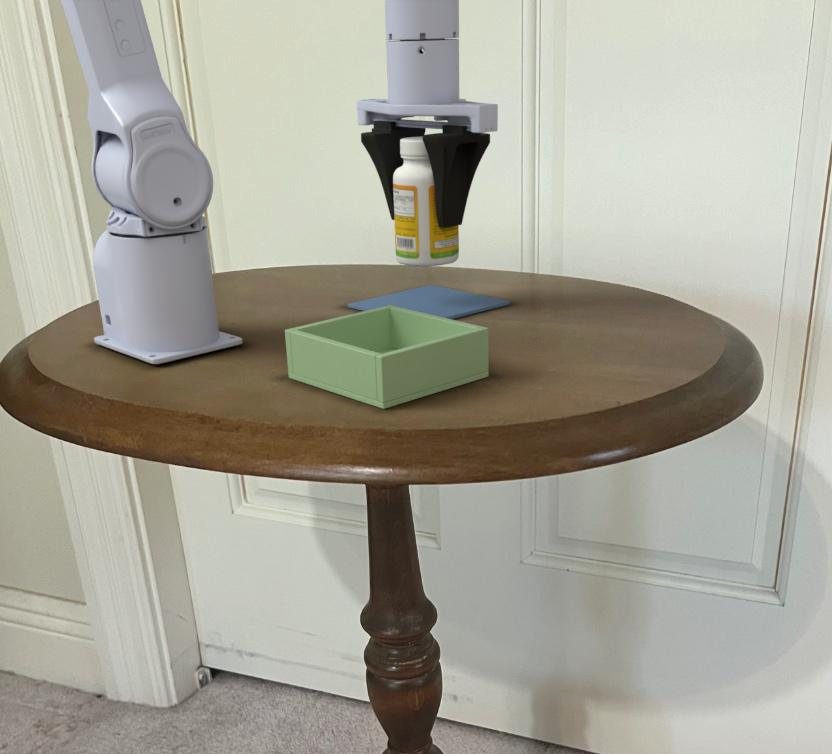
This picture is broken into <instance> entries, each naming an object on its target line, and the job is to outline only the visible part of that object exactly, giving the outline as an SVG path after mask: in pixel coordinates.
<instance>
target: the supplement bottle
mask: <svg viewBox="0 0 832 754" xmlns="http://www.w3.org/2000/svg"><path fill="white" fill-rule="evenodd" d="M400 154H401V158H403V159H404V163H403V166H401V167H399V168H397V169H396V170H395V172H394V175H393V193H394V219H395V220H394V240H395V241H394V243H395V259H396V261H397V262H398V263H399V264H401V265H404V266H408V267H419V268H420V267H435V266H436V267H437V266H444V265H451V264H453V263H456V261H457V260H458V259H459V257H460V240H459V239H460V235H459V234H460V233H459V231H460V230H459V226H460V225H457V226H452V227H447V228H443V227H439V224H438V220H437V214H436V200H435V185H434V179H433V173H432V168H431V164H430V160H429V157H428V153H427V150H426V148H425V145H424V142H423V136H421V137H408V138H403V139H401V140H400Z"/></svg>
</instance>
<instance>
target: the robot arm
mask: <svg viewBox="0 0 832 754" xmlns="http://www.w3.org/2000/svg"><path fill="white" fill-rule="evenodd" d="M60 2H61V6H62V9H63V12H64V15H65V19H66V23H67V25H68V28H69V31H70V35H71V38H72V42H73V45H74V48H75V51H76V55H77V58H78V61H79V64H80V67H81V70H82V74H83V77H84V81H85V83H86V87H87V91H88V103H87V123H88V126H89V129H90V134H91V137H92V144H93V145H92V146H93V148H92V149H93V150H92V154H91V155H92V156H91V157H92V158H91V163H90V165H91V167H90V168H91V169H90V170H91V171H90V172H91V177H92V180H93V183H94V187H95V190H96V191H97V193H98V195H99V196H100V198H102V200H103V201H104V202H105V203H106V205H108V206H110V207H111V209H110V211H109V213H108V216H107V220H106V222H105V223H106V229H105V230H104V232H102V233H101V235H100V236H99V237H98V239H97V240H96V244H95V246H94V249H93V254H92V267H93V273H94V279H95V286H96V292H97V298H98V304H99V310H100V317H101V323H102V328H103V334H102V335H98V336H97V335H96V336H95V337H93V340H94V343H95V344H96V345H99V346H101V347H105V348H106V349H109V350H113V351H115V352H118V353H121V354H124V355H126V356H129V357H132V358H135V359H137V360H140V361H143V362H145V363H148V364H151V365H161V364H165V363H169V362H174V361H178V360H182V359H187V358H191V357H195V356H199V355H203V354H207V353H211V352H215V351H219V350H224V349H228V348H232V347H238V346H240V345H243V338H242V337H240V336H237V335H234V334H230V333H227V332H223V331H220V329H219V320H218V313H217V303H216V295H215V285H214V277H213V268H212V259H211V251H210V250H211V249H210V241H209V233H208V226H207V224H208V223H207V217H206V216H204V214H205V212H206V211H207V209H208V208H209V206H210V203H211V200H212V197H213V193H214V175H213V171H212V167H211V164H210V162H209V160H208V158H207V156H206V155H205V153H204V152H203V150H202V149H201V148H200V147H199V145H198V144H197V142H195V141H194V140H193V138H192V136H191V135H190V132H189V130H188V127H187V124H186V121H185V117H184V113H183V110H182V109H181V106H180V105H179V103H178V102H177V100H176V98H175V97H174V95H173V94H172V92H171V91H170V89H169V88H168V86H167V84H166V82H165V81H164V78H163V77H162V73H161V70H160V66H159V61H158V59H157V55H156V51H155V48H154V44H153V40H152V37H151V33H150V30H149V25H148V22H147V18H146V15H145V11H144V8H143V4H142V0H60ZM384 19H385V20H384V21H385V22H384V24H385V40H386V41H385V49H386V53H385V54H386V76H387V78H386V79H387V98H369V99H357V100H356V112H357V113H356V114H357V125H358V126H373V127H371V131H366V132H361V133H360V142H361V144H362V146H363V147H364V149H365V150H366V152H367V154H368V155H369V157H370V159H371V161H372V163H373V165H374V168H375V170H376V173H377V175H378V178H379V181H380V184H381V186H382V190H383V193H384V197H385V201H386V204H387V208H388V212H389V215H390V219H391V220H392V221H395V219H394V193H393V175H394V172H395V170H396V169H397V168H399V167H401V166H403V163H404V159H403V158H401V154H400V140H401V139H403V138H408V137H421V136H423V142H424V145H425V148H426V150H427V153H428V157H429V160H430V164H431V168H432V173H433V179H434V185H435V200H436V214H437V220H438V224H439V227H443V228H447V227H452V226H457V225H459V226H462V225H463V220H464V216H465V211H466V206H467V202H468V198H469V195H470V190H471V187H472V184H473V181H474V177H475V175H476V172H477V170H478V167H479V165H480V163H481V160H482V159H483V157H484V155H485V153H486V151H487V150H488V147H489V146H490V143H491V134H490V133H491V132H492V133H493V132H497V131H498V127H499V126H498V125H499V124H498V119H499V117H498V115H499V113H498V112H499V111H498V110H499V105H498V103H487V102H479V101H478V102H477V101H468V100H466V99H465V98H460V39H459V38H460V0H384ZM415 117H433V120H420V119H419V120H418V119H407V118H415ZM405 118H406V119H405ZM426 129H430V130H431V129H432V130H442V132H435V133H428V134H426Z"/></svg>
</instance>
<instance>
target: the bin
mask: <svg viewBox="0 0 832 754" xmlns="http://www.w3.org/2000/svg"><path fill="white" fill-rule="evenodd" d="M489 334H490V329H489V327H486V326H482V325H478V324H473V323H469V322H465V321H461V320H457V319H447V318H443V317H439V316H434V315H430V314H426V313H421V312H417V311H413V310H409V309H404V308H400V307H396V306H392V305H388V306H384V307H380V308H376V309H371V310H367V311H359V312H354V313H351V314H346V315H342V316H338V317H332V318H329V319H326V320H320V321H316V322H313V323H309V324H304V325H300V326H295V327H291V328H287V329H284V336H285V337H284V339H285V351H286V361H287V362H286V363H287V373H288V378H289V379H291V380H293V381H296V382H300V383H303V384H306V385H309V386H312V387H316V388H319V389H322V390H323V391H324V390H325V391H328V392H330V393H333V394H336V395H340V396H343V397H346V398H349V399H351V400H355V401H358V402H361V403H364V404H367V405H370V406H374V407H376V408H379V409H383V410H385V409H388V408H392V407H395V406H398V405H401V404H404V403H409V402H410V401H414V400H417V399H420V398H424V397H427V396H430V395H434V394H437V393H440V392H444V391H446V390H450V389H453V388H456V387H459V386H462V385H465V384H470V383H472V382H476V381H479V380H482V379H485V378H488V377H489V376H490V375H489V373H490V372H489V369H490V367H489V365H490V363H489V360H490V359H489V356H490V355H489V354H490V353H489V352H490V351H489V350H490V346H489V345H490V343H489V342H490V340H489V338H490V337H489V336H490V335H489Z"/></svg>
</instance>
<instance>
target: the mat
mask: <svg viewBox="0 0 832 754" xmlns="http://www.w3.org/2000/svg"><path fill="white" fill-rule="evenodd" d="M388 305H392V306H396V307H400V308H404V309H409V310H413V311H417V312H421V313H426V314H430V315H434V316H439V317H443V318H447V319H452V320H456V319H458V318H463V317H466V316H470V315H473V314H474V315H475V314H478V313H481V312H485V311H489V310H494V309H497V308H501V307H505V306H509V305H510V300H507V299H501V298H498V297H497V298H496V297H492V296H488V295H487V296H486V295H481V294H477V293H473V292H467V291H463V290H457V289H452V288H449V287H442V286H438V285H433V284H429V285H425V286H420V287H415V288H411V289H407V290H403V291H398V292H394V293H389V294H384V295H379V296H376V297H372V298H367V299H363V300H358V301H354V302H349V303H347V308H349V309H354V310H358V311H360V312H363V311H367V310H371V309H376V308H380V307H384V306H388Z"/></svg>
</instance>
